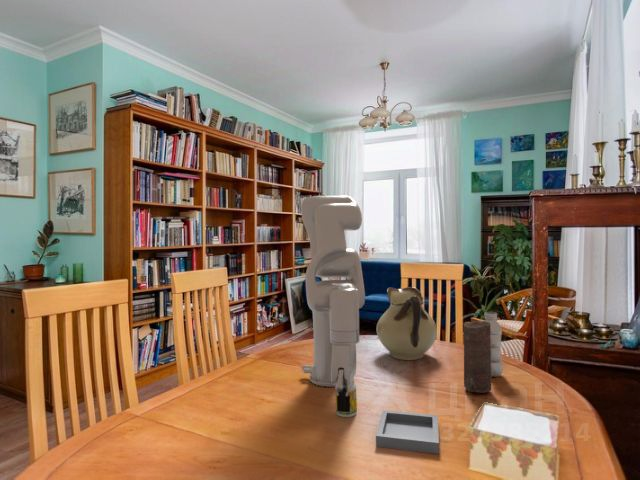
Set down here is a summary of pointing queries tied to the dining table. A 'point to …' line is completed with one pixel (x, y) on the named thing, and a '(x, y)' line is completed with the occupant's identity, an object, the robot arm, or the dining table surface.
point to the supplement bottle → (352, 400)
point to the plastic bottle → (495, 343)
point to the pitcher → (406, 325)
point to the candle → (477, 356)
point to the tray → (408, 431)
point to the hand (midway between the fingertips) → (346, 405)
